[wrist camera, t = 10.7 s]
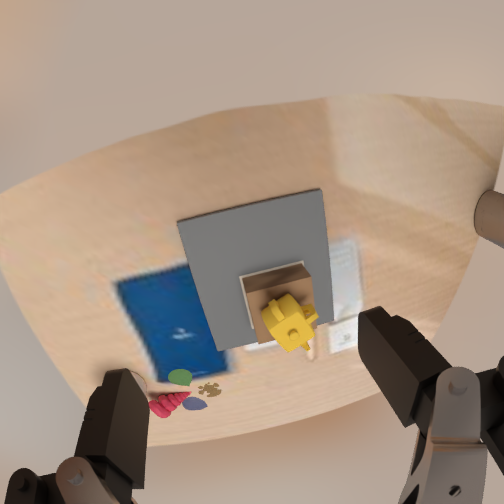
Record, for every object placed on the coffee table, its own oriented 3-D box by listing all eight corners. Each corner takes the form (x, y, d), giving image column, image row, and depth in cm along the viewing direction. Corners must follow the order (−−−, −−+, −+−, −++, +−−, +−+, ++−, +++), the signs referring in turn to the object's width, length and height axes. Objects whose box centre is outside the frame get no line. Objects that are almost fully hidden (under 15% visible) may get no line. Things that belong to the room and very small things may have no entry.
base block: (301, 263, 39) (311, 276, 36) (307, 312, 43) (316, 328, 39) (241, 278, 39) (246, 293, 35) (253, 326, 42) (258, 344, 38)
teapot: (321, 317, 38) (336, 341, 34) (284, 341, 39) (295, 367, 34) (291, 274, 35) (305, 296, 30) (251, 302, 36) (258, 327, 31)
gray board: (319, 188, 37) (322, 190, 36) (332, 317, 45) (334, 320, 44) (177, 221, 36) (176, 223, 35) (217, 348, 44) (218, 351, 43)
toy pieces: (185, 419, 50) (185, 437, 46) (140, 389, 45) (137, 408, 41) (234, 392, 48) (237, 411, 44) (190, 357, 44) (190, 377, 40)
